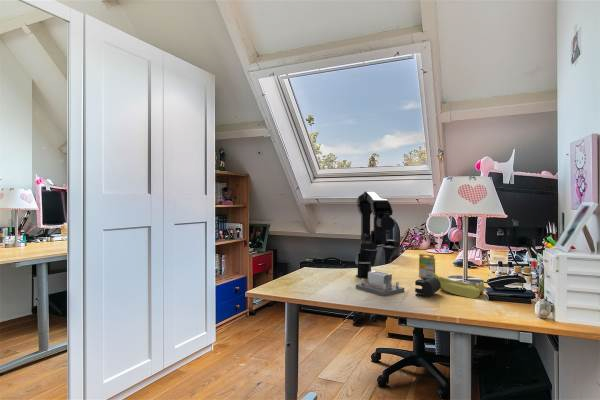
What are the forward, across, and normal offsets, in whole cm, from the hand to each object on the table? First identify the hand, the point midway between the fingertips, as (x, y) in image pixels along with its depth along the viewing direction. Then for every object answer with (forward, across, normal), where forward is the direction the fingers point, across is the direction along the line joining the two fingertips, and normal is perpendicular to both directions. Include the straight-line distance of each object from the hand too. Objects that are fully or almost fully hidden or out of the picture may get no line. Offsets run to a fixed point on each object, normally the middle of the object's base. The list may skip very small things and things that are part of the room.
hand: (379, 264), depth 158 cm
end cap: (+11, -10, +17) cm, 23 cm away
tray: (+11, 0, 0) cm, 11 cm away
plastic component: (+11, -24, +22) cm, 35 cm away
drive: (+9, 0, 0) cm, 9 cm away
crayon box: (+11, -39, -3) cm, 41 cm away
